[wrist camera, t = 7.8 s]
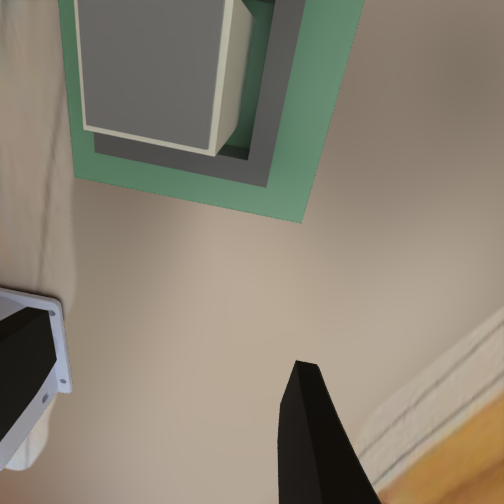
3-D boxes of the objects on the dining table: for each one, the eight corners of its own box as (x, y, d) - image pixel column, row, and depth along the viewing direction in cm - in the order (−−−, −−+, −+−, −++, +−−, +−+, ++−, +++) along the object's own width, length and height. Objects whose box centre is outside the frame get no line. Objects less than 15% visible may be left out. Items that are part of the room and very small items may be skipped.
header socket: (300, 218, 18) (303, 243, 15) (81, 173, 18) (48, 191, 15) (385, -84, 12) (410, -121, 9) (53, -155, 12) (-8, -212, 9)
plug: (239, 124, 15) (213, 157, 10) (153, 106, 15) (79, 130, 10) (256, 10, 13) (235, -26, 8) (156, -11, 13) (64, -63, 8)
